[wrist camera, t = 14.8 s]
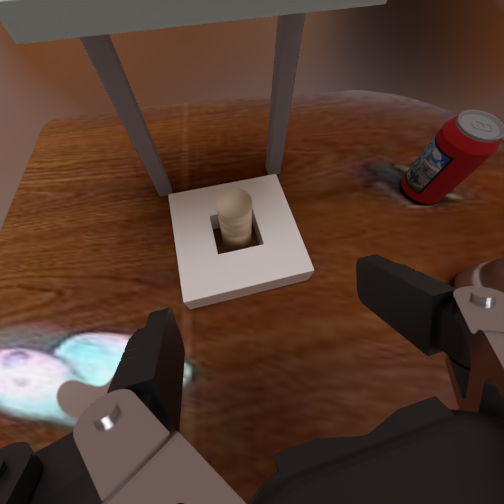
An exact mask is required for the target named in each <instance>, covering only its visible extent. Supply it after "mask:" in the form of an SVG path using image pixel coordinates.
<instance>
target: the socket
mask: <svg viewBox="0 0 504 504" xmlns="http://www.w3.org/2000/svg"><path fill="white" fill-rule="evenodd" d="M229 188H240V189H243V190H245V191H246V192H247V193H248V194H249V195H250V196H251V199H252V223H253V226H254V230H255V233H256V236H257V239H258V243H259V245H258V246H254V247H249V248H245V249H241V250H236V251H232V252H227V253H223V254H219V255H218V251H217V246H216V242H215V237H214V233H213V229H217V228H220V223H219V218H218V213H217V208H216V199H217V196H218V195H219V194H220V193H221V192H222V191H224V190H226V189H229ZM168 197H169V204H170V211H171V218H172V225H173V232H174V239H175V246H176V253H177V260H178V267H179V274H180V281H181V288H182V295H183V302H184V304H185V305H186V306H187V307H188V308H189V309H194V308H198V307H202V306H206V305H210V304H214V303H218V302H222V301H226V300H230V299H234V298H238V297H242V296H246V295H250V294H254V293H258V292H262V291H266V290H270V289H274V288H278V287H282V286H286V285H290V284H294V283H298V282H302V281H306V280H308V279H309V278H310V276H311V275H312V273H313V272H314V268H313V266H312V263H311V261H310V258H309V256H308V253H307V251H306V248H305V245H304V243H303V240H302V238H301V235H300V233H299V230H298V228H297V225H296V223H295V220H294V218H293V215H292V213H291V210H290V208H289V205H288V203H287V200H286V198H285V195H284V193H283V190H282V188H281V185H280V183H279V180H278V178H277V175H276V174H273V175H267V176H262V177H257V178H252V179H247V180H241V181H236V182H231V183H226V184H220V185H215V186H210V187H205V188H200V189H194V190H189V191H184V192H179V193H174V194H168Z"/></svg>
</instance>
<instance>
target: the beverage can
mask: <svg viewBox="0 0 504 504" xmlns="http://www.w3.org/2000/svg"><path fill="white" fill-rule="evenodd" d="M503 136H504V125H503V123H502V122H501V121H500V120H499V119H498V118H496V117H495V116H493V115H491V114H489V113H486V112H483V111H478V110H467V111H464V112H462V113H461V114H460V115H459V116H457V117H455V118H453V119H451V120H449V121H448V122H446V123H445V124H444V125H443V127H442V128H441V129H440V130H439V132H438V133H437V134H436V135H435V137H434V138H433V139H432V140H431V142H430V143H429V144H428V145H427V147H426V148H425V149H424V150H423V152H422V153H421V154H420V155H419V157H418V158H417V159H416V161H415V162H414V163H413V164H412V166H411V167H410V168H409V170H408V171H407V172H406V174H405V175H404V176H403V178H402V181H401V185H402V188H403V190H404V192H405V193H406V194H407V195H408V196H409V197H410V198H412V199H414V200H416V201H418V202H421V203H426V204H432V203H436V202H438V201H440V200H441V199H442V198H444V197H445V196H446V195H447V194H448V193H449V192H451V191H452V190H453V189H454V188H455V187H456V186H457V185H459V184H460V183H461V182H462V181H463V180H464V179H465V178H466V177H468V176H469V175H470V174H471V173H472V172H473V171H474V170H475V169H476V168H478V167H479V166H480V165H481V164H482V163H483V162H484V161H485V160H486V159H487V158H489V157H490V156H491V155H492V154H493V153H494V152H495V151H496V150H497V149H498V147H499V144H500V141H501V138H502V137H503Z"/></svg>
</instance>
